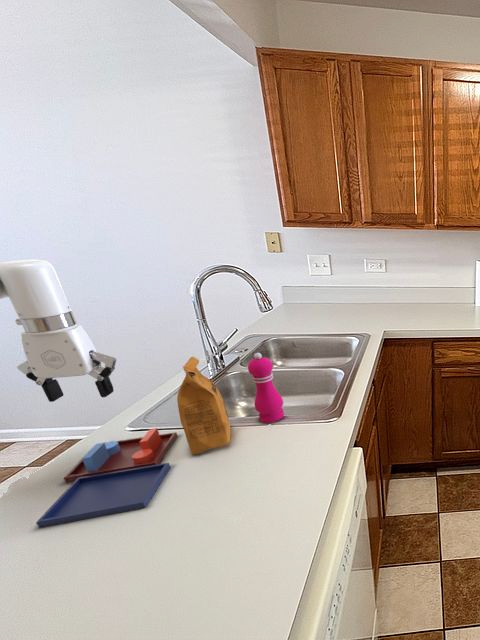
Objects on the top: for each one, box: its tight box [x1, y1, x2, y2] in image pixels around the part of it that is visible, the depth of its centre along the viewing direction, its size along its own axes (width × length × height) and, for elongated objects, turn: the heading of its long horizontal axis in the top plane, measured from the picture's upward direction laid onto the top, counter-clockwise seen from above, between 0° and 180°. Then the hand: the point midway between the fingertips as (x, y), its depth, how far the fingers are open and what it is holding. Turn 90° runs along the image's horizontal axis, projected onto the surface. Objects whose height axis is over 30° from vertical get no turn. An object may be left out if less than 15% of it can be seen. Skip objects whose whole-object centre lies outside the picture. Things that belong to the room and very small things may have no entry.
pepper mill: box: [247, 352, 285, 424], centre depth 110 cm, size 7×7×20 cm
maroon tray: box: [63, 431, 179, 484], centre depth 96 cm, size 17×14×1 cm
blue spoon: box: [81, 440, 120, 473], centre depth 95 cm, size 10×4×4 cm, turn 18°
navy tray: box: [36, 462, 171, 529], centre depth 84 cm, size 17×14×1 cm
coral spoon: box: [132, 427, 162, 465], centre depth 97 cm, size 10×4×4 cm, turn 18°
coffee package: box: [176, 356, 231, 455], centre depth 99 cm, size 10×12×22 cm
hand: (82, 396), depth 87 cm, fingers open, 9 cm apart
